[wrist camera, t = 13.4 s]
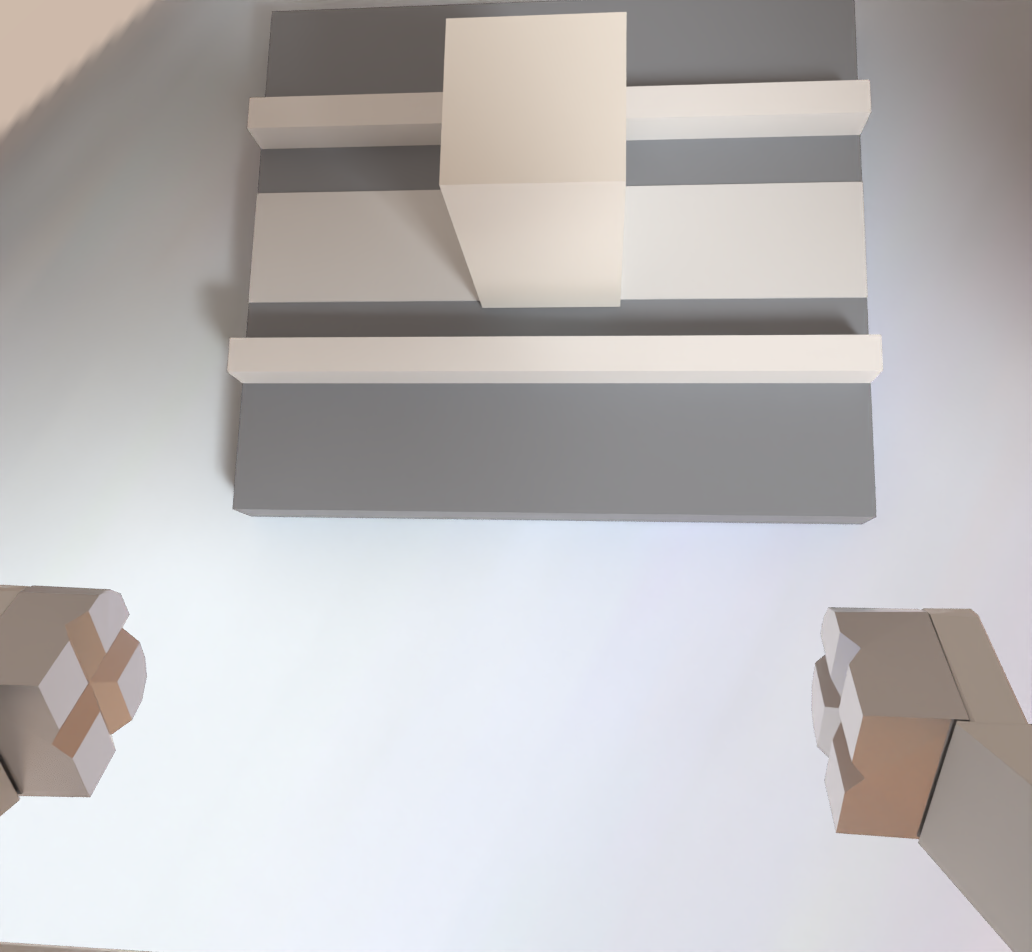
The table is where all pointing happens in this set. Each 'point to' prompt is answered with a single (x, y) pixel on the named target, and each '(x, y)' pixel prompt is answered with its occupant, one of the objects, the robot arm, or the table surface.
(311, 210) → the rail board
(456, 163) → the rail module
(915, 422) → the table surface
